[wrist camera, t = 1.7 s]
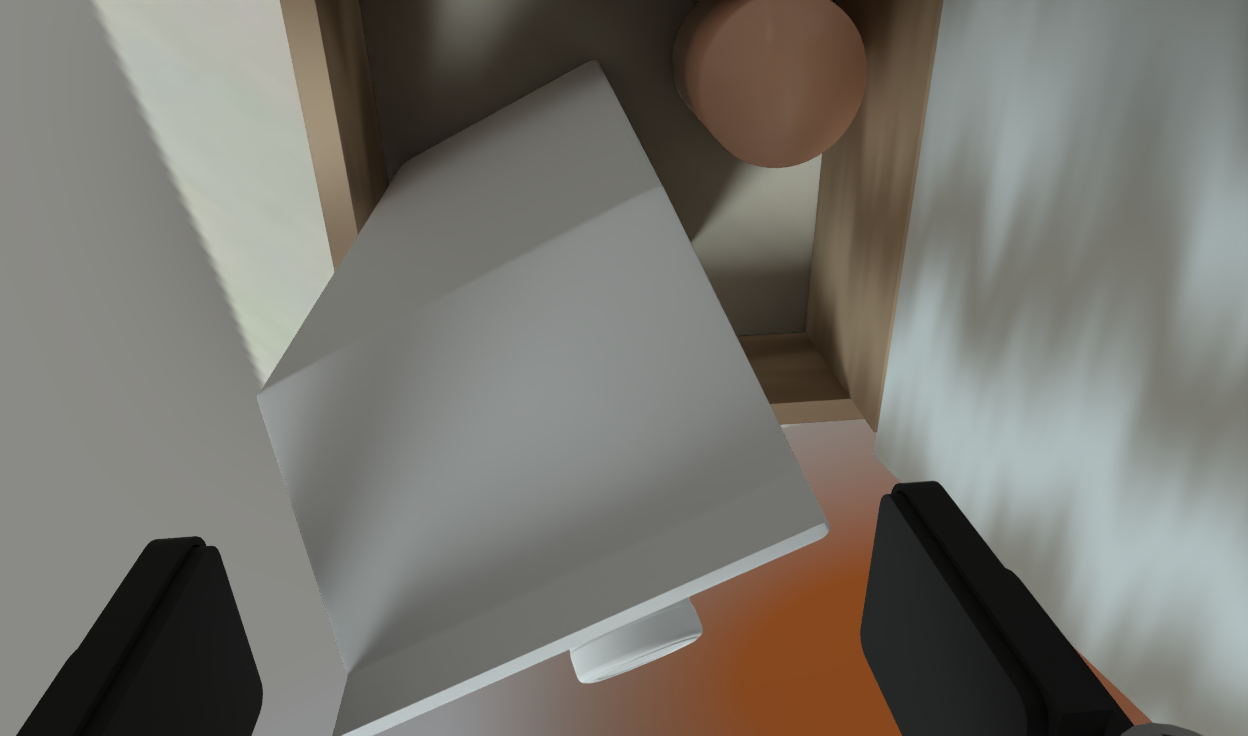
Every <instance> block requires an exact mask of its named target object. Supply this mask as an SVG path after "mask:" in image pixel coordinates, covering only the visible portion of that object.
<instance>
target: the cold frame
mask: <svg viewBox="0 0 1248 736" xmlns="http://www.w3.org/2000/svg"><path fill="white" fill-rule="evenodd" d="M280 3H281V8H282V13H283V18H284V23H285V28H286V33H287V38H288V43H289V48H290V53H291V58H292V63H293V68H294V73H295V78H296V83H297V88H298V93H299V97H300V102H301V107H302V112H303V117H304V122H305V127H306V132H307V137H308V142H309V147H310V152H311V157H312V162H313V167H314V172H315V177H316V182H317V187H318V192H319V197H320V201H321V206H322V211H323V216H324V221H325V226H326V231H327V236H328V241H329V246H330V251H331V256H332V261H333V266H334V271H336V270H337V268H338V266H339V265H340V263H341V262H342V260H343V258H344V257H345V255H346V254H347V252H348V250H349V249H350V247H351V246H352V244H353V242H354V241H355V239H356V238H357V236H358V234H359V233H360V231H361V230H362V228H363V226H364V225H365V223H366V222H367V220H368V218H369V217H370V215H371V213H372V212H373V210H374V209H375V207H376V205H377V204H378V202H379V201H380V199H381V197H382V196H383V194H384V193H385V191H386V189H387V188H388V180H387V173H386V167H385V161H384V155H383V148H382V142H381V136H380V130H379V123H378V117H377V111H376V104H375V98H374V92H373V86H372V79H371V73H370V67H369V61H368V54H367V48H366V42H365V36H364V29H363V23H362V17H361V10H360V4H359V0H280ZM837 6H839V7H840V8H841V9H842V10H843V11H844V12H845V13H846V14H847V15H848V16H849V17H850V19H851V20H852V22H853V23H854V24H855V26H856V28H857V30H858V32H859V34H860V36H861V39H862V42H863V45H864V49H865V54H866V61H867V78H866V86H865V91H864V95H863V98H862V102H861V104H860V107H859V109H858V111H857V114H856V116H855V117H854V119H853V121H852V123H851V124H850V126H849V127H848V128H847V130H846V131H845V132H844V134H843V135H842V136H841V137H840V138H839V139H838V140H837V141H836V142H835V143H834V144H833V145H832V146H831V147H830V148H828V149H827V150H826V151H824V152H823V153H822V162H821V172H820V182H819V193H818V203H817V213H816V224H815V234H814V244H813V255H812V265H811V276H810V286H809V296H808V307H807V317H806V327H805V332H799V333H782V334H765V335H748V336H736V337H737V339H738V341H739V343H740V345H741V347H742V349H743V351H744V353H745V355H746V357H747V359H748V361H749V363H750V365H751V367H752V369H753V371H754V373H755V375H756V377H757V379H758V382H759V384H760V386H761V388H762V390H763V392H764V394H765V396H766V398H767V400H768V402H769V404H770V406H771V408H772V410H773V412H774V414H775V416H776V418H777V420H778V422H779V424H780V425H783V424H798V423H812V422H827V421H842V420H857V419H865V420H866V421H867V423H868V424H869V426H870V427H871V429H872V430H873V431H874V432H877V437H876V443H875V450H874V457H875V458H876V459H877V460H878V461H879V462H880V463H882V465H883V466H885V467H886V468H887V469H888V470H889V471H890V472H891V473H892V474H893V475H894V476H895V477H896V478H897V479H898V480H899V481H900V482H901V483H910V482H923V481H936V482H939V483H940V484H941V485H942V486H943V488H944V489H945V490H946V491H947V493H948V494H949V495H950V497H951V498H952V499H953V501H954V502H955V503H956V504H957V506H958V507H959V508H960V510H961V511H962V512H963V514H964V515H965V516H966V517H967V519H968V520H969V521H970V523H971V524H972V525H973V527H974V528H975V529H976V530H977V532H978V533H979V534H980V536H981V537H982V538H983V540H984V541H985V542H986V543H987V545H988V546H989V547H990V549H991V550H992V551H993V553H994V554H995V555H996V556H997V558H998V559H999V560H1000V562H1001V563H1002V564H1003V566H1004V567H1005V568H1007V569H1009V570H1011V571H1013V572H1014V573H1015V574H1016V575H1017V576H1018V577H1019V578H1020V580H1021V581H1022V582H1023V583H1024V585H1025V586H1026V587H1027V589H1028V590H1029V591H1030V592H1031V594H1032V595H1033V596H1034V598H1035V599H1036V600H1037V601H1038V603H1039V604H1040V605H1041V607H1042V608H1043V609H1044V610H1045V612H1046V613H1047V614H1048V615H1049V617H1050V618H1051V619H1052V621H1053V622H1054V623H1055V624H1056V626H1057V627H1058V628H1059V630H1060V631H1061V632H1062V633H1063V635H1064V636H1065V637H1066V639H1067V640H1068V641H1069V642H1070V644H1072V645H1073V646H1074V647H1075V648H1076V649H1077V650H1078V651H1079V652H1080V653H1081V654H1082V655H1083V656H1084V657H1085V658H1086V659H1087V660H1088V661H1089V662H1091V663H1092V664H1093V665H1094V666H1095V667H1096V668H1097V669H1098V670H1099V671H1100V672H1101V673H1102V674H1103V675H1104V676H1105V677H1106V678H1107V679H1108V680H1109V681H1110V682H1111V683H1112V684H1114V685H1115V686H1116V687H1117V688H1118V689H1119V690H1120V691H1121V692H1122V693H1123V694H1124V695H1125V696H1126V697H1127V698H1128V699H1129V700H1130V701H1131V702H1132V703H1133V704H1135V705H1136V706H1137V707H1138V708H1139V709H1140V710H1141V711H1142V712H1143V713H1144V714H1145V715H1146V716H1147V717H1148V718H1149V719H1151V720H1152V721H1153V723H1160V724H1171V725H1175V726H1178V727H1181V728H1185V729H1188V730H1191V731H1195V732H1197V733H1199V734H1201V735H1203V736H1248V0H837Z"/></svg>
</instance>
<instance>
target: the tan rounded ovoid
mask: <svg viewBox="0 0 1248 736" xmlns="http://www.w3.org/2000/svg"><path fill="white" fill-rule="evenodd" d="M673 74H674V79H675V83H676V86H677V89H678V92H679V94H680V96H681V98H682V100H683V101H684V103H685V104H686V106H687V107H688V108H689V109H690V110H691V112H692V113H693V114H694V115H695V116H696V117H697V118H698V119H699V120H700V122H701V123H702V124H703V125H704V126H705V127H706V128H707V129H708V130H709V131H710V133H711V134H712V135H713V136H714V137H715V138H716V139H717V140H718V141H719V142H720V144H721V145H722V146H723V147H724V148H725V149H727V150H728V151H729V152H730V153H731V154H733V155H734V156H736V157H737V158H739V159H741V160H743V161H745V162H747V163H750V164H753V165H756V166H761V167H767V168H782V167H790V166H794V165H798V164H801V163H804V162H806V161H809V160H811V159H813V158H815V157H816V156H818V155H820V154H821V153H823V152H824V151H826V150H827V149H828V148H830V147H831V146H832V145H833V144H834V143H835V142H836V141H837V140H838V139H839V138H840V137H841V136H842V135H843V134H844V132H845V131H846V130H847V128H848V127H849V126H850V124H851V123H852V121H853V119H854V117H855V116H856V114H857V111H858V109H859V107H860V104H861V102H862V98H863V95H864V91H865V86H866V78H867V61H866V54H865V49H864V45H863V42H862V39H861V36H860V34H859V32H858V30H857V28H856V26H855V24H854V23H853V22H852V20H851V19H850V17H849V16H848V15H847V14H846V13H845V12H844V11H843V10H842V9H841V8H840V7H839V6H837V5H836V4H835V3H833V2H832V1H830V0H700V1H699V2H698V3H697V4H696V5H695V6H694V7H693V8H692V10H691V11H690V12H689V13H688V15H687V16H686V18H685V20H684V21H683V23H682V25H681V27H680V29H679V32H678V34H677V38H676V41H675V45H674V50H673Z"/></svg>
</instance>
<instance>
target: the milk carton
mask: <svg viewBox="0 0 1248 736" xmlns="http://www.w3.org/2000/svg"><path fill="white" fill-rule="evenodd" d="M257 400H258V403H259V406H260V409H261V413H262V416H263V419H264V422H265V425H266V428H267V431H268V434H269V437H270V440H271V443H272V446H273V449H274V452H275V455H276V459H277V462H278V465H279V468H280V471H281V474H282V477H283V480H284V483H285V486H286V489H287V492H288V495H289V498H290V501H291V504H292V507H293V511H294V514H295V517H296V520H297V522H298V526H299V529H300V532H301V535H302V538H303V541H304V544H305V547H306V550H307V554H308V556H309V559H310V563H311V566H312V569H313V571H314V575H315V578H316V581H317V584H318V587H319V590H320V593H321V596H322V599H323V602H324V605H325V608H326V612H327V615H328V618H329V621H330V624H331V627H332V630H333V633H334V636H335V639H336V642H337V645H338V648H339V651H340V655H341V657H342V661H343V664H344V667H345V670H346V673H347V677H348V678H347V682H346V686H345V690H344V693H343V697H342V701H341V705H340V708H339V712H338V716H337V720H336V724H335V728H334V732H333V735H332V736H372V735H375V734H377V733H379V732H382V731H384V730H386V729H388V728H391V727H393V726H395V725H397V724H400V723H402V722H404V721H406V720H409V719H411V718H414V717H416V716H418V715H420V714H422V713H425V712H427V711H429V710H432V709H434V708H436V707H439V706H440V705H443V704H445V703H448V702H450V701H452V700H455V699H457V698H459V697H461V696H464V695H466V694H468V693H471V692H472V691H475V690H477V689H480V688H482V687H484V686H486V685H489V684H491V683H493V682H496V681H498V680H500V679H502V678H505V677H507V676H509V675H511V674H514V673H516V672H518V671H521V670H523V669H525V668H527V667H530V666H532V665H534V664H536V663H539V662H541V661H544V660H546V659H548V658H550V657H553V656H555V655H557V654H559V653H562V652H564V651H566V650H570V653H571V655H570V657H571V660H572V663H573V666H574V669H575V672H576V675H577V678H578V679H579V681H580V682H582V683H593V682H597V681H601V680H604V679H607V678H610V677H613V676H615V675H618V674H621V673H623V672H626V671H628V670H631V669H634V668H636V667H639V666H641V665H643V664H646V663H648V662H651V661H653V660H655V659H658V658H660V657H662V656H665V655H667V654H669V653H671V652H673V651H676V650H678V649H680V648H682V647H684V646H686V645H688V644H690V643H692V642H694V641H695V640H697V638H698V637H699V636H701V634H702V631H703V630H702V625H701V623H700V620H699V618H698V615H697V613H696V611H695V608H694V606H692V604H691V602H690V599H689V596H692V595H694V594H696V593H698V592H701V591H703V590H705V589H708V588H710V587H712V586H715V585H717V584H719V583H721V582H723V581H726V580H728V579H731V578H733V577H735V576H737V575H740V574H742V573H744V572H746V571H749V570H751V569H753V568H755V567H758V566H760V565H762V564H765V563H767V562H769V561H771V560H774V559H776V558H778V557H781V556H783V555H785V554H788V553H790V552H792V551H794V550H796V549H799V548H801V547H803V546H806V545H808V544H810V543H813V542H815V541H817V540H819V539H822V538H823V537H824V536H826V534H827V533H828V532H829V530H830V525H829V523H828V521H827V519H826V517H825V516H824V513H823V511H822V509H821V507H820V506H819V503H818V501H817V499H816V497H815V495H814V493H813V491H812V489H811V487H810V486H809V484H808V481H807V480H806V478H805V476H804V473H803V471H802V470H801V467H800V465H799V463H798V461H797V459H796V457H795V455H794V453H793V451H792V449H791V447H790V445H789V443H788V441H787V439H786V437H785V435H784V433H783V431H782V428H781V426H780V424H779V422H778V420H777V418H776V416H775V414H774V412H773V410H772V408H771V406H770V404H769V402H768V400H767V398H766V396H765V394H764V392H763V390H762V388H761V386H760V384H759V382H758V379H757V377H756V375H755V373H754V371H753V369H752V367H751V365H750V363H749V361H748V359H747V357H746V355H745V353H744V351H743V349H742V347H741V345H740V343H739V341H738V339H737V337H736V335H735V332H734V330H733V328H732V326H731V324H730V322H729V320H728V318H727V316H726V314H725V312H724V310H723V308H722V306H721V304H720V302H719V300H718V298H717V296H716V294H715V292H714V290H713V288H712V286H711V283H710V281H709V279H708V277H707V275H706V273H705V271H704V269H703V267H702V265H701V263H700V261H699V259H698V257H697V255H696V253H695V251H694V249H693V247H692V245H691V243H690V241H689V239H688V236H687V234H686V232H685V230H684V228H683V226H682V224H681V222H680V220H679V218H678V216H677V214H676V212H675V210H674V208H673V206H672V204H671V202H670V200H669V198H668V196H667V194H666V192H665V190H664V187H663V186H662V184H661V182H660V180H659V178H658V176H657V174H656V172H655V170H654V168H653V167H652V165H651V163H650V161H649V159H648V157H647V155H646V153H645V151H644V149H643V147H642V145H641V143H640V141H639V139H638V138H637V136H636V134H635V132H634V130H633V128H632V126H631V124H630V122H629V120H628V118H627V116H626V114H625V112H624V110H623V108H622V107H621V105H620V103H619V101H618V99H617V97H616V95H615V93H614V91H613V89H612V87H611V85H610V83H609V81H608V79H607V78H606V76H605V74H604V72H603V70H602V68H601V66H600V64H599V63H598V61H596V60H593V61H589V62H587V63H585V64H583V65H581V66H579V67H577V68H575V69H574V70H572V71H570V72H568V73H566V74H564V75H563V76H561V77H559V78H557V79H555V80H553V81H552V82H550V83H548V84H546V85H544V86H542V87H541V88H539V89H537V90H535V91H533V92H532V93H530V94H528V95H526V96H524V97H522V98H521V99H519V100H517V101H515V102H513V103H511V104H510V105H508V106H506V107H504V108H502V109H501V110H499V111H497V112H495V113H493V114H491V115H490V116H488V117H486V118H484V119H482V120H480V121H479V122H477V123H475V124H473V125H471V126H470V127H468V128H466V129H464V130H462V131H460V132H459V133H457V134H455V135H453V136H451V137H450V138H448V139H446V140H444V141H442V142H440V143H439V144H437V145H435V146H433V147H431V148H429V149H428V150H426V151H424V152H422V153H420V154H419V155H417V156H415V157H413V158H412V159H410V160H408V161H407V162H405V163H404V164H403V165H402V166H401V167H400V169H399V170H398V172H397V173H396V175H395V177H394V178H393V180H392V181H391V183H390V185H389V186H388V188H387V189H386V191H385V193H384V194H383V196H382V197H381V199H380V201H379V202H378V204H377V205H376V207H375V209H374V210H373V212H372V213H371V215H370V217H369V218H368V220H367V222H366V223H365V225H364V226H363V228H362V230H361V231H360V233H359V234H358V236H357V238H356V239H355V241H354V242H353V244H352V246H351V247H350V249H349V250H348V252H347V254H346V255H345V257H344V258H343V260H342V262H341V263H340V265H339V266H338V268H337V270H336V271H335V273H334V274H333V276H332V278H331V279H330V281H329V282H328V284H327V286H326V287H325V289H324V291H323V292H322V294H321V295H320V297H319V299H318V300H317V302H316V303H315V305H314V307H313V308H312V310H311V311H310V313H309V315H308V316H307V318H306V319H305V321H304V323H303V324H302V326H301V327H300V329H299V331H298V332H297V334H296V335H295V337H294V339H293V340H292V342H291V343H290V345H289V347H288V348H287V350H286V351H285V353H284V355H283V356H282V358H281V359H280V361H279V363H278V364H277V366H276V368H275V369H274V371H273V372H272V374H271V376H270V377H269V379H268V380H267V382H266V384H265V385H264V387H263V388H262V390H261V392H260V393H259V394H258V395H257Z"/></svg>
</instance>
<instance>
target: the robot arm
mask: <svg viewBox="0 0 1248 736" xmlns="http://www.w3.org/2000/svg"><path fill="white" fill-rule="evenodd" d="M860 636H861V644H862V649H863V652H864V655H865V658H866V660H867V662H868V664H869V666H870V668H871V670H872V672H873V675H874V677H875V679H876V681H877V683H878V685H879V687H880V690H881V691H882V694H883V696H884V698H885V700H886V702H887V704H888V706H889V708H890V711H891V713H892V715H893V717H894V719H895V721H896V724H897V725H898V728H899V730H900V732H901V734H902V736H1203V735H1201V734H1199V733H1197V732H1195V731H1191V730H1188V729H1185V728H1181V727H1178V726H1175V725H1171V724H1160V723H1146V724H1141V725H1136V726H1134V725H1133V723H1132V722H1131V721H1130V719H1129V718H1128V717H1127V716H1126V714H1125V713H1124V712H1123V711H1122V709H1121V708H1120V707H1119V705H1118V704H1117V703H1116V701H1115V700H1114V699H1113V698H1112V696H1111V695H1110V694H1109V693H1108V691H1107V690H1106V689H1105V687H1104V686H1103V685H1102V683H1101V682H1100V681H1099V680H1098V678H1097V677H1096V676H1095V674H1094V673H1093V672H1092V671H1091V669H1090V668H1089V667H1088V666H1087V664H1086V663H1085V662H1084V660H1083V659H1082V658H1081V657H1080V655H1079V654H1078V653H1077V651H1076V650H1075V649H1074V648H1073V646H1072V645H1071V644H1070V642H1069V641H1068V640H1067V639H1066V637H1065V636H1064V635H1063V633H1062V632H1061V631H1060V630H1059V628H1058V627H1057V626H1056V624H1055V623H1054V622H1053V621H1052V619H1051V618H1050V617H1049V615H1048V614H1047V613H1046V612H1045V610H1044V609H1043V608H1042V607H1041V605H1040V604H1039V603H1038V601H1037V600H1036V599H1035V598H1034V596H1033V595H1032V594H1031V592H1030V591H1029V590H1028V589H1027V587H1026V586H1025V585H1024V583H1023V582H1022V581H1021V580H1020V578H1019V577H1018V576H1017V575H1016V574H1015V573H1014V572H1013V571H1011V570H1009V569H1007V568H1005V567H1004V566H1003V564H1002V563H1001V562H1000V560H999V559H998V558H997V556H996V555H995V554H994V553H993V551H992V550H991V549H990V547H989V546H988V545H987V543H986V542H985V541H984V540H983V538H982V537H981V536H980V534H979V533H978V532H977V530H976V529H975V528H974V527H973V525H972V524H971V523H970V521H969V520H968V519H967V517H966V516H965V515H964V514H963V512H962V511H961V510H960V508H959V507H958V506H957V504H956V503H955V502H954V501H953V499H952V498H951V497H950V495H949V494H948V493H947V491H946V490H945V489H944V488H943V486H942V485H941V484H940V483H939V482H936V481H923V482H910V483H898V484H896V485H895V486H894V487H893V489H892V493H891V494H886V495H884V496H883V497H882V498H881V502H880V507H879V513H878V520H877V526H876V533H875V539H874V546H873V552H872V559H871V565H870V572H869V578H868V584H867V591H866V597H865V604H864V610H863V616H862V623H861V631H860ZM262 699H263V689H262V683H261V680H260V676H259V673H258V670H257V667H256V664H255V661H254V658H253V655H252V652H251V648H250V645H249V643H248V639H247V636H246V633H245V630H244V627H243V624H242V621H241V617H240V615H239V611H238V609H237V605H236V602H235V599H234V596H233V593H232V590H231V586H230V583H229V580H228V577H227V574H226V571H225V568H224V565H223V562H222V559H221V555H220V553H219V551H218V549H217V548H216V547H215V546H206V544H205V542H204V540H203V539H202V538H201V537H197V536H194V537H181V538H168V539H156V540H153V541H151V542H150V543H149V544H148V545H147V546H146V547H145V549H144V550H143V552H142V553H141V555H140V556H139V558H138V559H137V561H136V562H135V564H134V565H133V567H132V568H131V570H130V571H129V573H128V574H127V576H126V577H125V579H124V580H123V582H122V583H121V585H120V586H119V588H118V589H117V590H116V592H115V593H114V595H113V596H112V598H111V599H110V601H109V603H108V604H107V606H106V607H105V608H104V610H103V611H102V613H101V614H100V616H99V617H98V619H97V620H96V622H95V623H94V625H93V627H92V628H91V629H90V631H89V632H88V634H87V635H86V637H85V638H84V640H83V641H82V643H81V644H80V646H79V648H78V649H77V650H76V651H75V652H74V653H73V654H72V655H71V656H70V657H69V658H68V660H67V661H66V662H65V664H64V666H63V667H62V668H61V670H60V671H59V673H58V674H57V676H56V677H55V679H54V680H53V682H52V683H51V685H50V686H49V688H48V689H47V691H46V692H45V694H44V695H43V697H42V698H41V700H40V701H39V702H38V704H37V706H36V707H35V708H34V710H33V711H32V713H31V715H30V716H29V717H28V719H27V720H26V722H25V723H24V725H23V726H22V728H21V729H20V731H19V732H18V734H17V735H16V736H251V735H252V733H253V730H254V727H255V725H256V722H257V719H258V716H259V713H260V710H261V706H262Z"/></svg>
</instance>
